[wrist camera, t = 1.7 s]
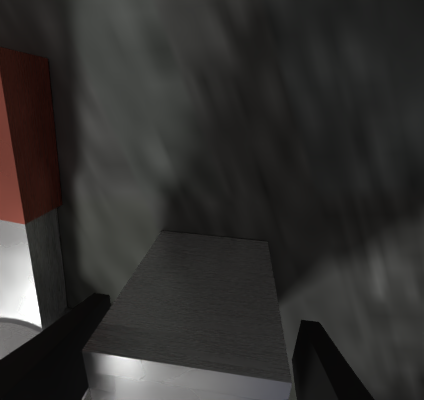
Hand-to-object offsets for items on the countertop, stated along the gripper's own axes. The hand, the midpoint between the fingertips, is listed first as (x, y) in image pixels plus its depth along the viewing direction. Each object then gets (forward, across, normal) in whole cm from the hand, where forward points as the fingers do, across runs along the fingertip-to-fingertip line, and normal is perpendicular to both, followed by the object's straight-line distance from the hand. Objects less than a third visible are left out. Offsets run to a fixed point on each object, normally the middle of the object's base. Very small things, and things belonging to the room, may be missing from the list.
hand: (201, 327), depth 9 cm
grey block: (+3, 0, 0) cm, 3 cm away
